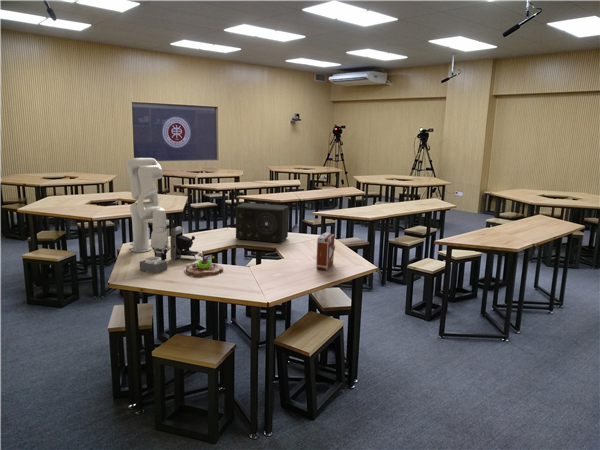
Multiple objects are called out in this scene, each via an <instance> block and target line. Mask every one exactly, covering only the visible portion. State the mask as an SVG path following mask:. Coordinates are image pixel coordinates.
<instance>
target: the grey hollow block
mask: <svg viewBox="0 0 600 450" xmlns="http://www.w3.org/2000/svg"><path fill="white" fill-rule="evenodd" d="M138 265H139V271H141V272H147V273H150V272H151V273H152V274H155V275H156V273H157V274H159V273H163V272H164V271H167V270H168V261H167V260H165V261H164V260H161V257H155V256H149V257H146V258H145V259H143V260H141V261H139V264H138ZM151 273H150V274H151Z"/></svg>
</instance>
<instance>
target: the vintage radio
mask: <svg viewBox="0 0 600 450" xmlns="http://www.w3.org/2000/svg"><path fill="white" fill-rule="evenodd" d="M289 210H290V209H289V206H288V205H280V204H268V203H267V204H265V203H253V202H252V203H251V202H243V203H240V204H238V205H236V206H235V239H237V240H239V239H242V240H250V241H261V242H273V243H275V244H280V243H282V242H284V241H285V240H286V239H287V238H288V235H289V212H290V211H289Z"/></svg>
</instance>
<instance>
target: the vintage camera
mask: <svg viewBox="0 0 600 450" xmlns="http://www.w3.org/2000/svg"><path fill="white" fill-rule="evenodd" d="M183 228H184V227H183V226H181V225H178V226H176V227H172V228H171V230H170V245H169V247H170V250H169V251H170V255H169V256H170V259H171V260H176V259H178V258H179V257H181V256H182V257H183V256H185V257H194V258H196V256H198V254H200V253H201V252H199V251H197V250H195V251H193V250H191V248H192V246H193V244H194V241H195V239H196V236H194V235H192V236H191V238H190V237H188V236H186V235H183V232H184V230H183Z"/></svg>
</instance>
